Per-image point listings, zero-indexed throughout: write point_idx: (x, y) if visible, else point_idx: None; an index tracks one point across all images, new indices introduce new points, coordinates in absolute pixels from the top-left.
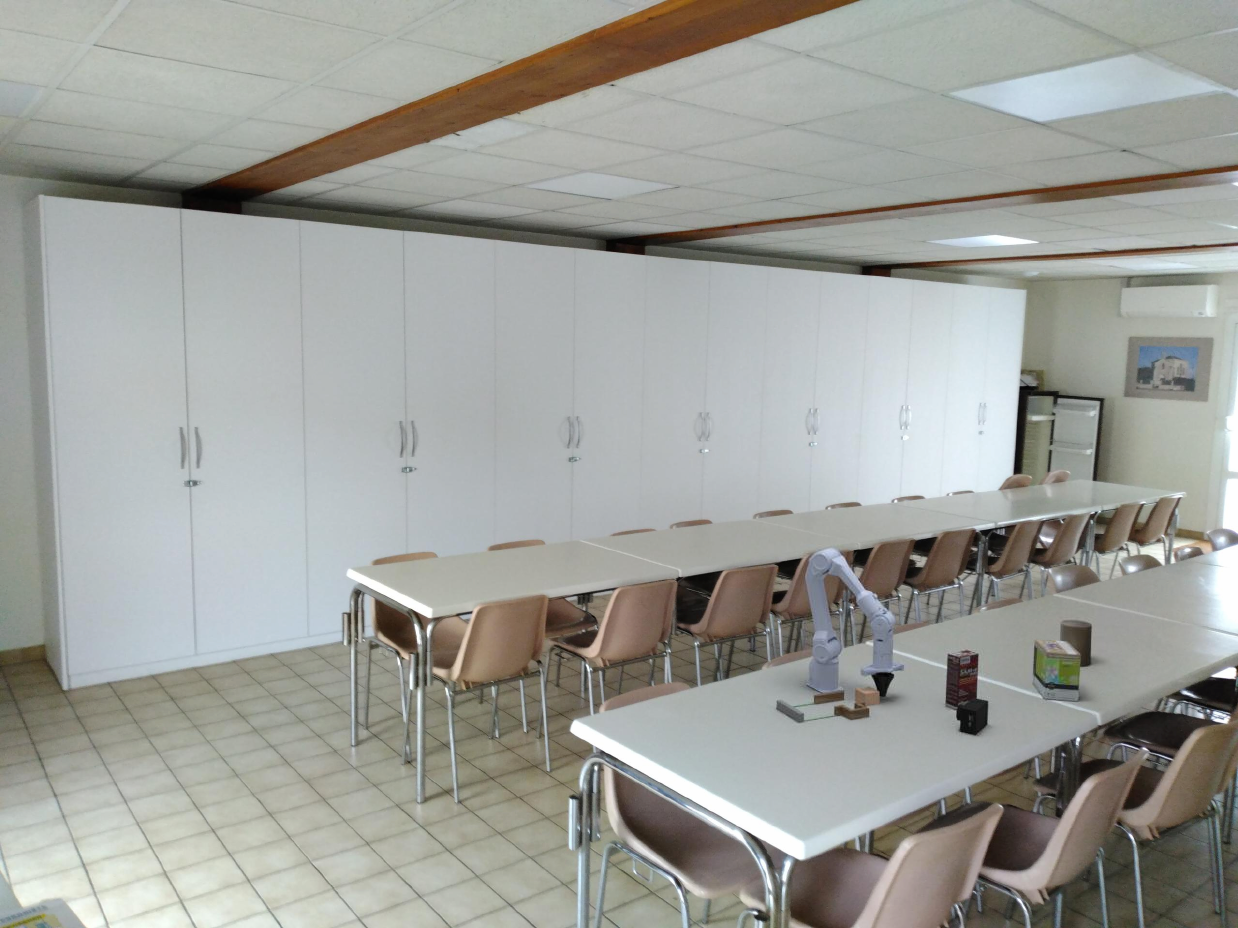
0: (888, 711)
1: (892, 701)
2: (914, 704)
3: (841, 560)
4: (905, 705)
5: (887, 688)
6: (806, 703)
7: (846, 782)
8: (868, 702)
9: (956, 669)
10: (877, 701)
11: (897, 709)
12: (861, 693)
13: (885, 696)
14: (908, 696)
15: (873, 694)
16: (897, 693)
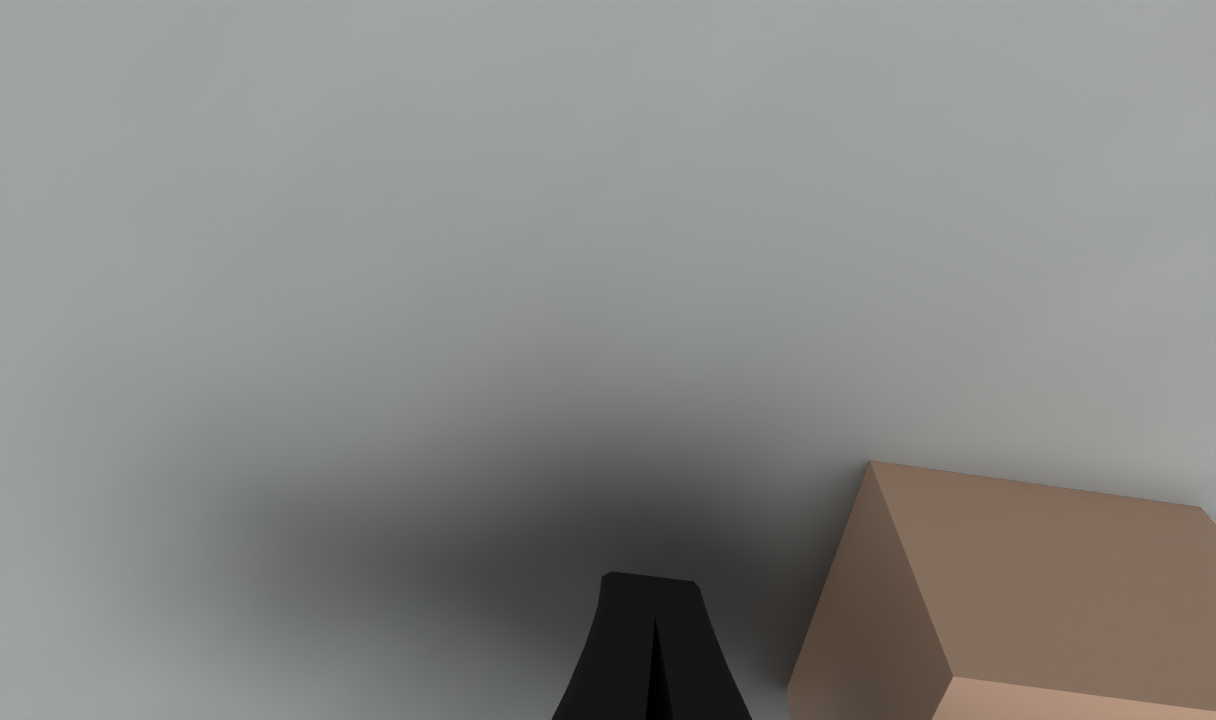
0: (1143, 39)
1: (521, 432)
2: (184, 68)
3: None
4: (437, 131)
5: (589, 705)
6: None
7: None
8: (1162, 542)
9: None
10: (927, 505)
11: (828, 26)
12: None
13: (615, 575)
14: (40, 461)
15: (1121, 653)
16: (157, 630)
